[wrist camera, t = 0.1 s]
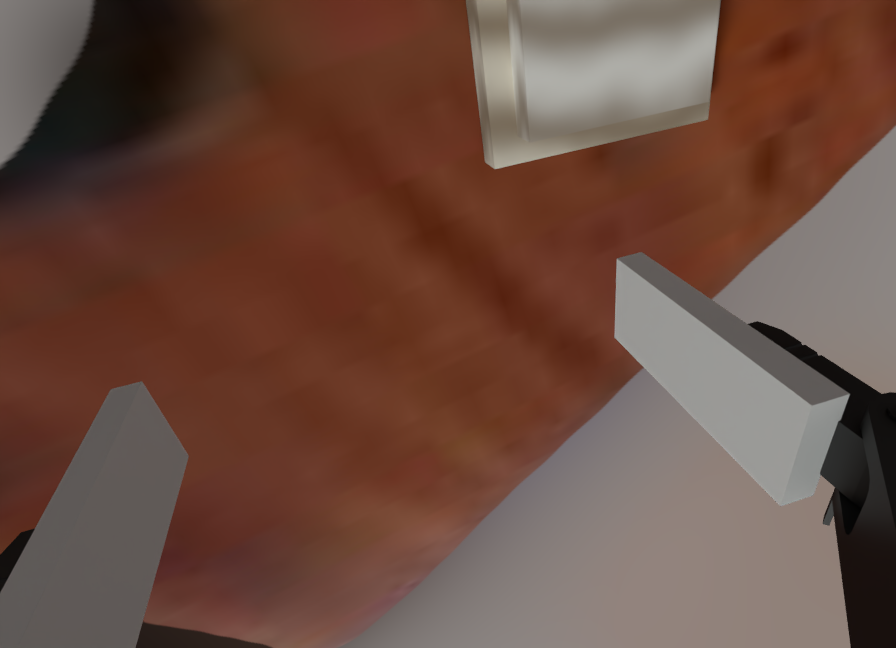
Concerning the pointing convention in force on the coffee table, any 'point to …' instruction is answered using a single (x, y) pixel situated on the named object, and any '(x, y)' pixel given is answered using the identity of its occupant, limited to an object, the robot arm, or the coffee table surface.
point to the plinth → (587, 71)
